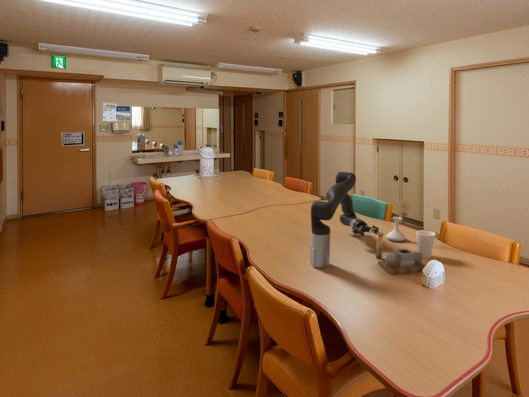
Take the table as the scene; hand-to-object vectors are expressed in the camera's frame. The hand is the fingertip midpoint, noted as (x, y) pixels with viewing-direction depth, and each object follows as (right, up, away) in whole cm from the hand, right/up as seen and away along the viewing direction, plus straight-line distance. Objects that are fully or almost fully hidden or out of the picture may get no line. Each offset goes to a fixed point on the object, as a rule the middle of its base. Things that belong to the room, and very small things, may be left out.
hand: (370, 233), depth 203 cm
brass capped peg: (+2, -12, -9) cm, 15 cm away
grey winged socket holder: (+10, -13, -22) cm, 27 cm away
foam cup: (+27, -12, -7) cm, 30 cm away
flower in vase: (+22, -6, +20) cm, 31 cm away
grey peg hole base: (+10, -15, -21) cm, 28 cm away
